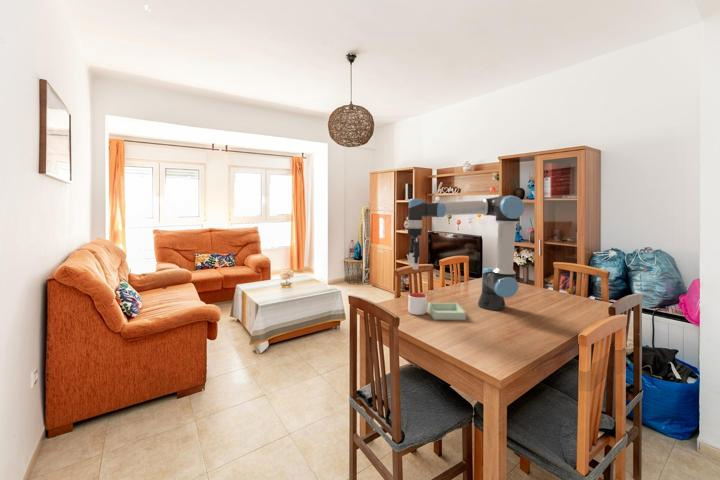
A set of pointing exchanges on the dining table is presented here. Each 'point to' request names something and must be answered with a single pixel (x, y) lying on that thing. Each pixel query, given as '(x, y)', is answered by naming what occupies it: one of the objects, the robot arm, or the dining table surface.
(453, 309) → the pale green square tray
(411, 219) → the robot arm
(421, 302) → the cup
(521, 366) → the dining table surface
